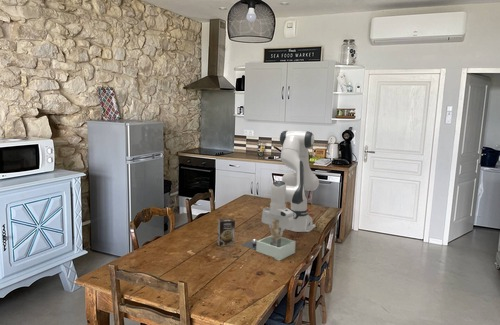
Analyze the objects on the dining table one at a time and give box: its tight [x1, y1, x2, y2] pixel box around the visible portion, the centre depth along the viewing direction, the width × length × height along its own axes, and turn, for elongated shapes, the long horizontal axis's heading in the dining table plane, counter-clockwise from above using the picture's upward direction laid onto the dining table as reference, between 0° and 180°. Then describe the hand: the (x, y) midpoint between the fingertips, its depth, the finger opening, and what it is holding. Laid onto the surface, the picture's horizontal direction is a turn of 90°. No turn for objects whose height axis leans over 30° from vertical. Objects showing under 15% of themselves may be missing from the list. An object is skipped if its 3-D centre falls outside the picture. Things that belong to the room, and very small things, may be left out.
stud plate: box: [240, 238, 258, 251], centre depth 224 cm, size 12×12×5 cm
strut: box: [270, 219, 283, 247], centre depth 214 cm, size 4×4×16 cm
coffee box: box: [217, 217, 236, 247], centre depth 223 cm, size 9×6×16 cm
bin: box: [255, 235, 296, 261], centre depth 215 cm, size 16×16×7 cm
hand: (276, 233), depth 214 cm, fingers closed on strut, 4 cm apart
